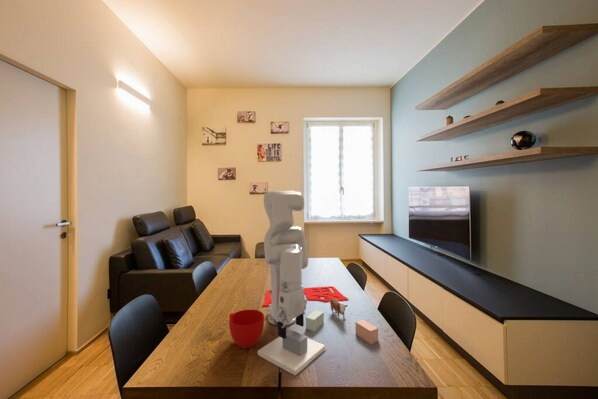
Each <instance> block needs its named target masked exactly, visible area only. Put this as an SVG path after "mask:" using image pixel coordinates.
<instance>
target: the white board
mask: <svg viewBox="0 0 598 399" xmlns="http://www.w3.org/2000/svg"><path fill="white" fill-rule="evenodd" d="M325 350H326V345H325V344H323V343H321V342H318V341H316V340H313V339H311V338H309V337H307V352H305V353H304V354H303V355H302V356H298V355H296V354H294V353H292V352H290V351H288V350H286V349H284V348H283V342H282V338H281V337H279V336H278V337H276V338H274V339H273V340H272V341H271V342H269V343H267V344H266V345H264V346H262V347H261V348H260V349H258V350H257V356H259V357H261V358H263V359H264V360H266V361H267V362H269V363H272V364H273V365H276V366H277V367H279V368H281V369H283V370H284V371H286V372H288V373H289V374H292V375H293V376H296V375H298V374H299V373H301V371H302V370H304V369H305V368H306V367H307V366H308V365H309V364H310V363H312V361H314V360H315V359H316V358H317V357H318V356H319V355H321V354H323V352H324V351H325Z"/></svg>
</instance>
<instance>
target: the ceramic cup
mask: <svg viewBox="0 0 598 399" xmlns="http://www.w3.org/2000/svg"><path fill="white" fill-rule="evenodd" d="M228 318H229V319H228V325H229V332H230V336H231V338H232V340H233V341H234V343H235V344H236V345H237V346H238V347H239V348H241V349H249V348H252V347H254V346H255V345H256V344H257V343H258V342H259V340H260V339H261V337H262V335H263V330H264V326H265V315H264V313H263V312H262V311H260V310H258V309H243V310H238V311H236V312H232V313H230V314H229V316H228Z"/></svg>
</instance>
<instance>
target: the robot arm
mask: <svg viewBox="0 0 598 399" xmlns="http://www.w3.org/2000/svg"><path fill="white" fill-rule="evenodd" d="M263 206H264V209H265V213H266V215H267V217H268V220H269V221H268V222H269V227H268V228H267V231H266V233H265V235H264V240H263V246H264V247H263V250H264V258H265V261H266V264H268V265H269V268H270V269H269V270H270V278H271V280H270V281H271V290H272V292H271V297H272V305H269V306H268V307H267V308H266V311H267V312H269V316H268V317H267V318H268V319H267V320H268V322H269V323H270V324H271V325H274V326H277V335H278V337H281V338H283V339H285V338H286V331H287V327H286V326H289V325H293V323H295V324H296V325H297V326H300V327H304V315H305V313H306V312H305V311H306V309H307V303H308V300H307V299H306V296H305V293H304V290H303V288H304V286H303V282H302V279H303V277H302V276H303V275H302V273H303V272H302V270H304V269H306V268H308V266H309V253H308V247H307V242H306V235H305V231H304V229H303V228H302V227H301V226H293V225H294V223H295V220H294V215H293V214H294V213H293V212H302V211H303V210H304V208H305V198H304V196H303V194H302V193H301V192H300V191H298V190H273V191H268V192H265V193H264V195H263Z"/></svg>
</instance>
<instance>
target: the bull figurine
mask: <svg viewBox="0 0 598 399" xmlns="http://www.w3.org/2000/svg"><path fill="white" fill-rule="evenodd" d="M329 304H330V310H331V314H332V316H335V313H337V317H336V319H337V320H340V315H341V316H342V319H343V321H346V317H345V311H346V308H347V307H348V304H346V305H345V303H343V301H338V300H337V299H336V298H334V297H332V298H331V299H330V302H329ZM334 311H335V312H334Z"/></svg>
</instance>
